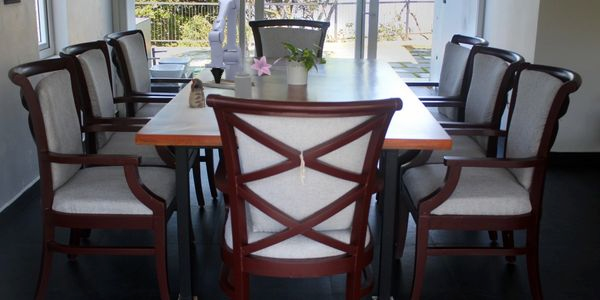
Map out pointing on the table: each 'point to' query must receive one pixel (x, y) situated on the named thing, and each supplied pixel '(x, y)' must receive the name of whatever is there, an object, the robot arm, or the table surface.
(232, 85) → the plank
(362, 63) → the table surface
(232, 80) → the laid plank
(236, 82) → the can
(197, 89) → the figurine
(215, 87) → the underlay mat
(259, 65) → the lily
